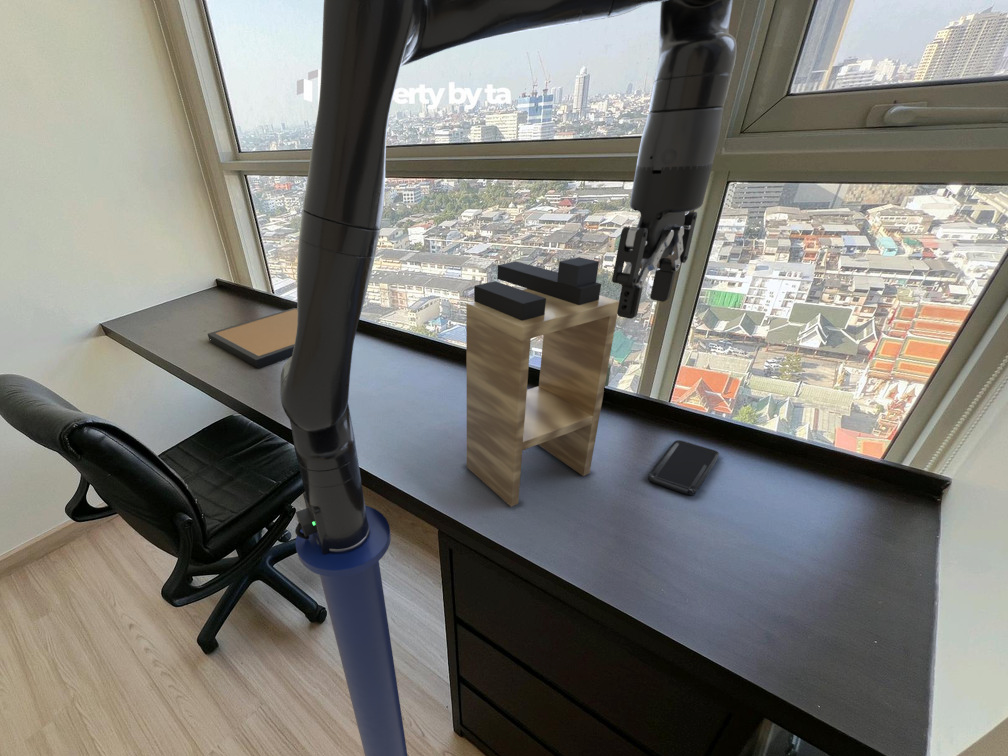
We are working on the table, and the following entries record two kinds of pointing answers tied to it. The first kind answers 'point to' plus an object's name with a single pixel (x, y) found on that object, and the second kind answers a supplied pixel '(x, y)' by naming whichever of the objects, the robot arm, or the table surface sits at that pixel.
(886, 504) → the table surface
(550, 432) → the shelf
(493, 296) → the pad
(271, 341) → the cork board
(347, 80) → the robot arm
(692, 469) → the phone
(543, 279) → the pad
